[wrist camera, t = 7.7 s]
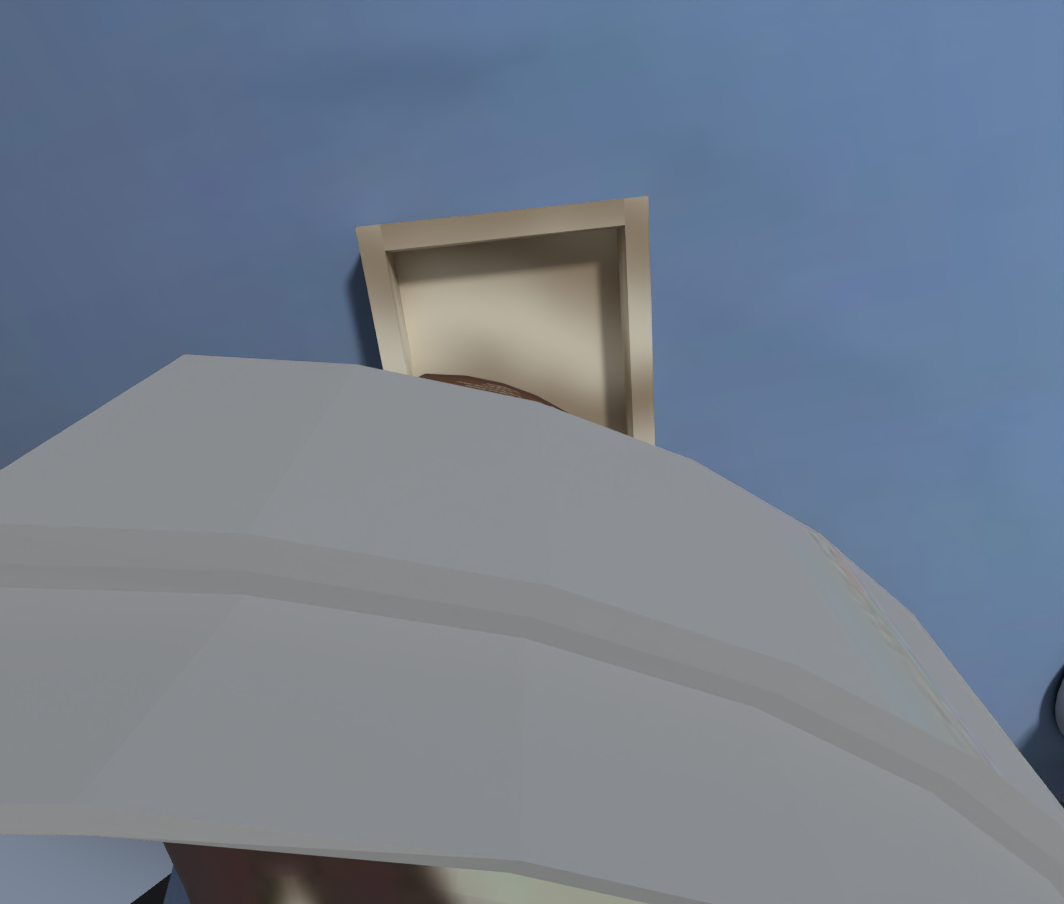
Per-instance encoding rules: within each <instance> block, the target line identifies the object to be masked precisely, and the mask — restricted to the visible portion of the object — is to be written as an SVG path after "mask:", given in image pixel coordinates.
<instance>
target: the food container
mask: <svg viewBox="0 0 1064 904" xmlns="http://www.w3.org/2000/svg"><path fill="white" fill-rule="evenodd" d="M0 835H93V836H104V837H115V838H127V839H137V840H149V841H159V842H163V843H164V845H165V847H166V850H167V852H168V854H169V856H170V858H171V860H172V863H173V865H174V867H175V869H176V871H177V873H178V876H179V878H180V880H181V882H182V884H183V886H184V889H185V891H186V893H187V895H188V897H189V901H190V904H1064V808H1063V807H1062V806H1061V804H1060V803H1059V802H1058V801H1057V799H1056V798H1055V797H1054V795H1053V794H1052V793H1051V792H1050V790H1049V789H1048V788H1047V786H1046V785H1045V784H1044V783H1043V781H1042V780H1041V779H1040V777H1039V776H1038V775H1037V773H1036V772H1035V771H1034V770H1033V768H1032V767H1031V766H1030V764H1029V763H1028V762H1027V761H1026V759H1025V758H1024V757H1023V755H1022V754H1021V753H1020V752H1019V750H1018V749H1017V748H1016V746H1015V745H1014V744H1013V742H1012V741H1011V740H1010V739H1009V737H1008V736H1007V735H1006V733H1005V732H1004V731H1003V730H1002V728H1001V727H1000V726H999V724H998V723H997V722H996V721H995V719H994V718H993V717H992V715H991V714H990V713H989V711H988V710H987V709H986V708H985V706H984V705H983V704H982V702H981V701H980V700H979V699H978V697H977V696H976V695H975V693H974V692H973V691H972V690H971V688H970V687H969V686H968V684H967V683H966V682H965V681H964V679H963V678H962V677H961V675H960V674H959V673H958V671H957V670H956V669H955V668H954V666H953V665H952V664H951V662H950V661H949V660H948V659H947V657H946V656H945V655H944V653H943V652H942V651H941V650H940V648H939V647H938V646H937V644H936V643H935V642H934V640H933V639H932V638H931V637H930V635H929V634H928V633H927V631H926V630H925V629H924V628H923V626H922V625H921V624H920V622H919V621H918V620H917V619H916V617H915V616H914V615H913V614H912V613H911V612H910V611H909V610H908V609H907V608H905V607H904V606H903V605H902V604H901V603H900V602H899V601H897V600H896V599H895V598H894V597H893V596H892V595H890V594H889V593H888V592H887V591H886V590H885V589H883V588H882V587H881V586H880V585H879V584H878V583H876V582H875V581H874V580H873V579H872V578H871V577H869V576H868V575H867V574H866V573H865V572H864V571H863V570H861V569H860V568H859V567H858V566H857V565H856V564H854V563H853V562H852V561H851V560H850V559H849V558H847V557H846V556H845V555H844V554H843V553H842V552H840V551H839V550H838V549H837V548H836V547H835V546H834V545H832V544H831V543H830V542H829V541H828V540H827V539H825V538H824V537H823V536H822V535H821V534H820V533H818V532H816V531H815V530H813V529H811V528H810V527H808V526H806V525H804V524H803V523H801V522H799V521H797V520H796V519H794V518H792V517H791V516H789V515H787V514H785V513H784V512H782V511H780V510H778V509H777V508H775V507H773V506H772V505H770V504H768V503H766V502H765V501H763V500H761V499H760V498H758V497H756V496H754V495H753V494H751V493H749V492H747V491H746V490H744V489H742V488H741V487H739V486H737V485H735V484H734V483H732V482H730V481H728V480H727V479H725V478H723V477H722V476H720V475H718V474H716V473H715V472H713V471H711V470H709V469H708V468H706V467H704V466H703V465H701V464H699V463H697V462H696V461H694V460H692V459H689V458H686V457H684V456H681V455H678V454H676V453H673V452H670V451H668V450H665V449H662V448H660V447H657V446H654V445H652V444H649V443H646V442H644V441H641V440H638V439H636V438H633V437H630V436H628V435H625V434H622V433H620V432H617V431H614V430H612V429H609V428H606V427H604V426H601V425H598V424H596V423H593V422H590V421H588V420H585V419H582V418H580V417H577V416H574V415H572V414H569V413H568V412H566V411H564V410H563V409H561V408H559V407H557V406H555V405H553V404H552V403H550V402H548V401H546V400H544V399H543V398H541V397H539V396H537V395H534V394H532V393H529V392H526V391H524V390H521V389H518V388H515V387H513V386H510V385H507V384H504V383H501V382H496V381H491V380H486V379H481V378H476V377H471V376H466V375H445V374H423V375H421V376H419V377H415V376H410V375H405V374H400V373H396V372H391V371H386V370H381V369H376V368H371V367H366V366H362V365H356V364H339V363H321V362H304V361H287V360H270V359H252V358H235V357H218V356H200V355H183V356H181V357H180V358H178V359H176V360H175V361H173V362H172V363H170V364H169V365H167V366H165V367H164V368H162V369H161V370H159V371H157V372H156V373H154V374H153V375H151V376H149V377H148V378H146V379H145V380H143V381H142V382H140V383H138V384H137V385H135V386H134V387H132V388H130V389H129V390H127V391H126V392H124V393H122V394H121V395H119V396H118V397H116V398H115V399H113V400H111V401H110V402H108V403H107V404H105V405H103V406H102V407H100V408H99V409H97V410H95V411H94V412H92V413H91V414H89V415H88V416H86V417H84V418H83V419H81V420H80V421H78V422H76V423H75V424H73V425H72V426H70V427H68V428H67V429H65V430H64V431H62V432H61V433H59V434H57V435H56V436H54V437H53V438H51V439H49V440H48V441H46V442H45V443H43V444H41V445H40V446H38V447H37V448H35V449H34V450H32V451H30V452H29V453H27V454H26V455H24V456H22V457H21V458H19V459H18V460H16V461H15V462H13V463H11V464H10V465H8V466H7V467H5V468H3V469H2V470H0Z"/></svg>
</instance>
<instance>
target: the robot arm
mask: <svg viewBox="0 0 1064 904" xmlns="http://www.w3.org/2000/svg"><path fill="white" fill-rule="evenodd" d="M1055 713H1056V722H1057V724H1058V727H1059V730H1060V732H1061V733H1062V735H1063V736H1064V678H1063V681H1062V683H1061V686H1060V688H1059V691H1058V693H1057V699H1056V705H1055ZM1058 802H1059V801H1058ZM1059 803H1060V804H1061V806H1062V807H1063V808H1064V803H1062V802H1059ZM131 904H190V901H189V897H188V895H187V893H186V891H185V889H184V886H183V884H182V882H181V880H180V878H179V876H178V873H177V871H176V869H175V867H174V865H173V869H172V873H171V874H170V875H168V876H167V877H166V878H164V879H163V880H162V881H160V882H159V883H158V884H156V885H155V886H154V887H152V888H151V889H150V890H148V891H147V892H146V893H144V894H143V895H142V896H140V897H139V898H138V899H136V900H135V901H134V902H132V903H131Z"/></svg>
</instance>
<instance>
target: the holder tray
mask: <svg viewBox="0 0 1064 904" xmlns="http://www.w3.org/2000/svg"><path fill="white" fill-rule="evenodd" d="M355 229H356V234H357V239H358V244H359V249H360V254H361V259H362V264H363V270H364V275H365V280H366V285H367V290H368V295H369V300H370V305H371V310H372V315H373V320H374V326H375V331H376V336H377V341H378V346H379V351H380V356H381V361H382V366H383V370H386V371H391V372H396V373H400V374H405V375H410V376H415V377H419V376H421V375H423V374H445V375H466V376H471V377H476V378H481V379H486V380H491V381H496V382H501V383H504V384H507V385H510V386H513V387H515V388H518V389H521V390H524V391H526V392H529V393H532V394H534V395H537V396H539V397H541V398H543V399H544V400H546V401H548V402H550V403H552V404H553V405H555V406H557V407H559V408H561V409H563V410H564V411H566V412H568V413H569V414H572V415H574V416H577V417H580V418H582V419H585V420H588V421H590V422H593V423H596V424H598V425H601V426H604V427H606V428H609V429H612V430H614V431H617V432H620V433H622V434H625V435H628V436H630V437H633V438H636V439H638V440H641V441H644V442H646V443H649V444H652V445H654V446H655V430H654V393H653V355H652V318H651V281H650V243H649V206H648V196H643V197H634V198H624V199H615V200H606V201H596V202H587V203H577V204H568V205H559V206H549V207H540V208H531V209H521V210H512V211H503V212H493V213H484V214H474V215H465V216H456V217H446V218H437V219H428V220H418V221H409V222H400V223H390V224H381V225H371V226H362V227H355Z"/></svg>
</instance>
